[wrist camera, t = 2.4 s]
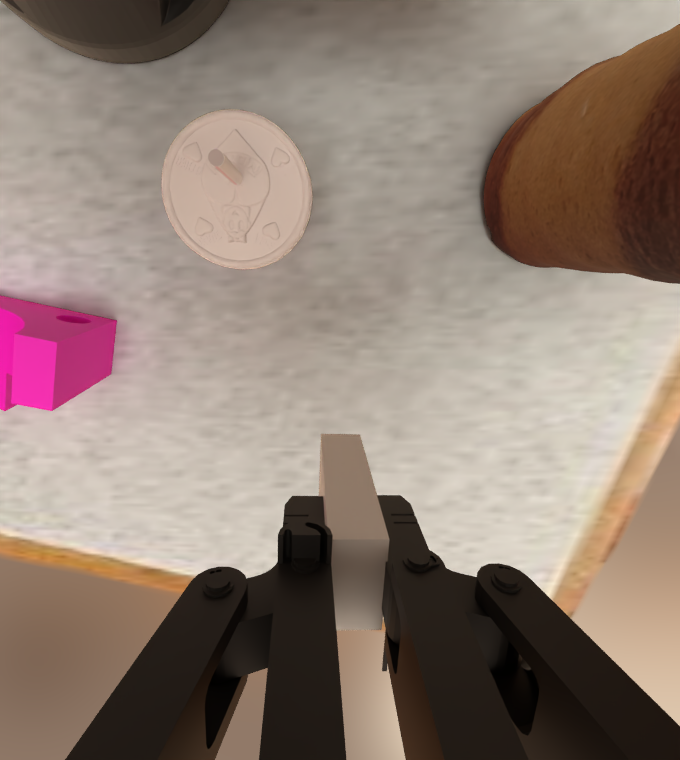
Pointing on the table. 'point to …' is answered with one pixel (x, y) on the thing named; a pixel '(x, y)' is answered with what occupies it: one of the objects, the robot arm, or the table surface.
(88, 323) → the toy block
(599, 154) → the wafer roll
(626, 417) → the table surface
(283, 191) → the smoothie
